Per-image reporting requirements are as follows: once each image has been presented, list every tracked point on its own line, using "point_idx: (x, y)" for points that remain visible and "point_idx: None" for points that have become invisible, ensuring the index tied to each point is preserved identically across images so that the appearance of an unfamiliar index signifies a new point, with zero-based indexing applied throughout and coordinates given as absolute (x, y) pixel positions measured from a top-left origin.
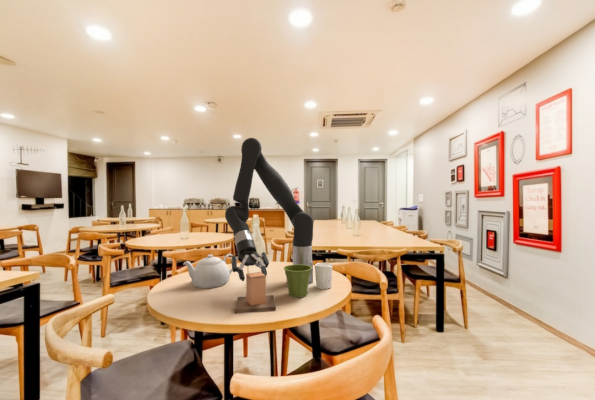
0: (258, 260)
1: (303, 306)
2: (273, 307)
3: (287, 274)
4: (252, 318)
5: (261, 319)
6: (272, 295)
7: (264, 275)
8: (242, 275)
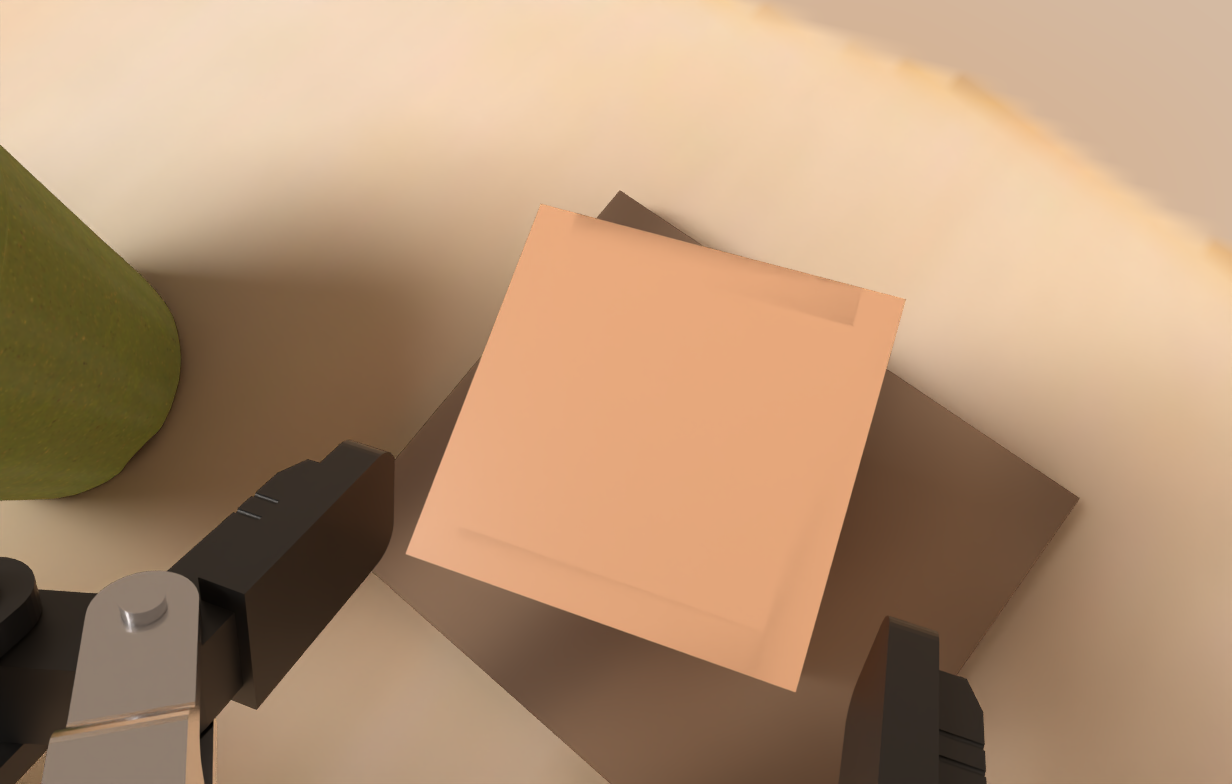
0: (147, 772)
1: (335, 84)
2: (642, 209)
3: None
4: (967, 222)
5: (901, 137)
6: None
7: (564, 216)
8: (934, 683)
